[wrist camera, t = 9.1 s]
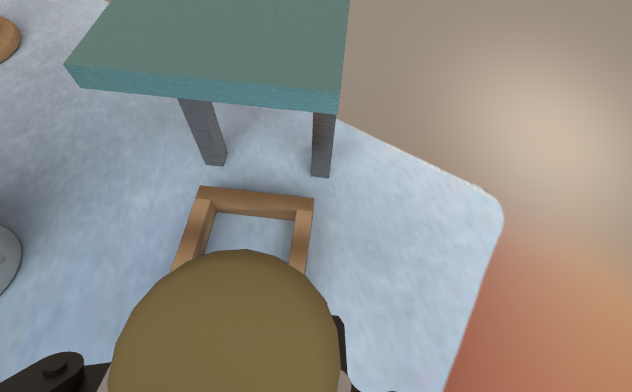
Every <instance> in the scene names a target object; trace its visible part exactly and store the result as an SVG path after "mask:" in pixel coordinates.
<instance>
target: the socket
mask: <svg viewBox="0 0 632 392" xmlns="http://www.w3.org/2000/svg"><path fill="white" fill-rule="evenodd" d="M313 209H314V198H307V197H298V196H290V195H281V194H272V193H263V192H254V191H245V190H236V189H227V188H218V187H209V186H200V187H199V190H198V193H197V196H196V198H195V201H194V204H193V207H192V210H191V213H190V216H189V219H188V222H187V225H186V227H185V230H184V233H183V236H182V239H181V242H180V245H179V248H178V251H177V254H176V257H175V259H174V262H173V265H172V268H171V271H170V272H172V271H173V270H175V269H176V268H178V267H179V266H181V265H182V264H184V263H185V262H187V261H189V260H192V259H195V258H198V257H201V256H203V255H204V252H205V248H206V245H207V242H208V238H209V235H210V232H211V228H212V225H213V222H214V218H215V215H216V212H221V213H230V214H239V215H247V216H256V217H265V218H274V219H282V220H291V221H295V225H294V231H293V238H292V244H291V250H290V256H289V263H288V264H289V265H290V266H292V267H294V268H295V269H297V270H298V271H300V272H302V273H303V274H304V275H305V271H306V263H307V256H308V248H309V240H310V233H311V225H312V217H313Z"/></svg>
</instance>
